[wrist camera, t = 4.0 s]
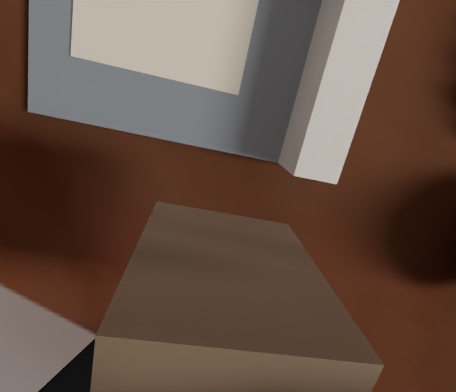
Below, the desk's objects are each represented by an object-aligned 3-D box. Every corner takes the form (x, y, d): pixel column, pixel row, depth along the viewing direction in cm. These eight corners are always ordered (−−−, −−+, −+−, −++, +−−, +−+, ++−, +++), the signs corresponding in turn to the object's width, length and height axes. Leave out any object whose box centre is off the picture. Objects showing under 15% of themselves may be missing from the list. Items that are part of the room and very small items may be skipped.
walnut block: (237, 391, 11) (263, 613, 6) (129, 382, 10) (67, 619, 6) (287, 223, 9) (384, 365, 4) (156, 201, 8) (95, 334, 4)
